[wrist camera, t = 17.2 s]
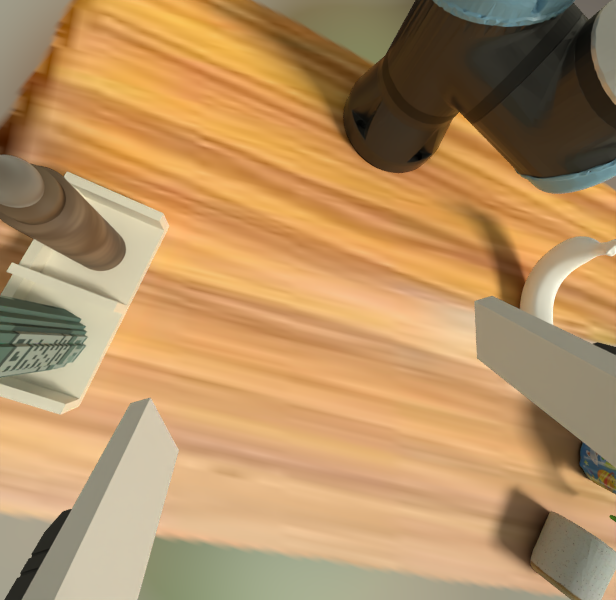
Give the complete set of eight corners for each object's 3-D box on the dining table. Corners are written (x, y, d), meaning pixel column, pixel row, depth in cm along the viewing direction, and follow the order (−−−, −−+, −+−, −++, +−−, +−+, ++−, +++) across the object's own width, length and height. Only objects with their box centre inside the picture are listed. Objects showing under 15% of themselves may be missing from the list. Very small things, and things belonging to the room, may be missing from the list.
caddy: (83, 189, 37) (67, 171, 33) (169, 226, 39) (163, 213, 35) (-25, 374, 32) (-59, 378, 28) (79, 406, 34) (60, 414, 30)
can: (46, 298, 34) (-88, 264, 19) (99, 329, 34) (8, 319, 20) (3, 348, 32) (-178, 352, 18) (59, 379, 33) (-69, 407, 19)
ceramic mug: (514, 557, 44) (572, 601, 37) (538, 502, 46) (597, 533, 39) (565, 595, 46) (631, 644, 38) (585, 540, 48) (652, 577, 41)
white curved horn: (505, 369, 48) (621, 380, 34) (511, 249, 51) (619, 214, 37) (531, 374, 49) (654, 386, 35) (535, 256, 52) (649, 224, 38)
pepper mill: (88, 219, 36) (-27, 115, 19) (133, 238, 36) (60, 154, 20) (65, 259, 35) (-77, 185, 18) (113, 278, 35) (17, 223, 19)
